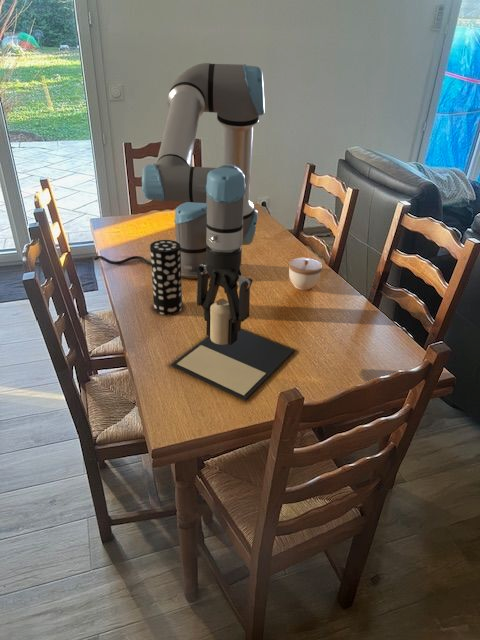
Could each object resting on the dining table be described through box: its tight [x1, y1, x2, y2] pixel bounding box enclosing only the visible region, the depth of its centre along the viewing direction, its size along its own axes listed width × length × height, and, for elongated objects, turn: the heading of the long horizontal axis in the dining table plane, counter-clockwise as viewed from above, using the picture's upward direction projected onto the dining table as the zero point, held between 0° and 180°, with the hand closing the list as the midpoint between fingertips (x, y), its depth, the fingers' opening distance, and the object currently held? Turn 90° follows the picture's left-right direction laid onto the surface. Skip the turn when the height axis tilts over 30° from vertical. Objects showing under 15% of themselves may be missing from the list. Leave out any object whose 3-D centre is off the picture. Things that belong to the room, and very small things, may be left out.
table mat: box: [170, 328, 295, 402], centre depth 120 cm, size 22×24×1 cm
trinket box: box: [288, 257, 323, 291], centre depth 153 cm, size 11×11×9 cm
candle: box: [210, 298, 232, 345], centre depth 108 cm, size 6×6×10 cm
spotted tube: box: [149, 239, 183, 316], centre depth 135 cm, size 8×8×20 cm
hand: (221, 337), depth 110 cm, fingers closed on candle, 5 cm apart
